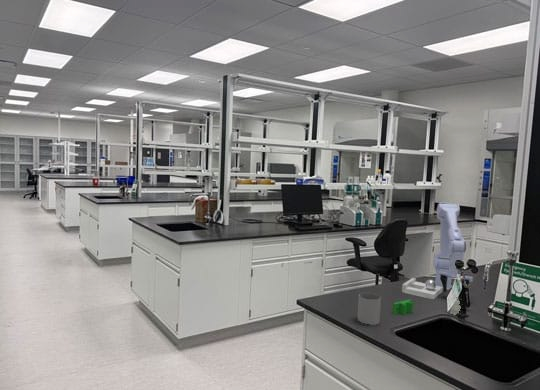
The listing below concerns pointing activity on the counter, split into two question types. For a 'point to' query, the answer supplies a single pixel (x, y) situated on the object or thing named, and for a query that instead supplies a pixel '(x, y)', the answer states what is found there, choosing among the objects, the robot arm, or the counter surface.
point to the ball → (430, 284)
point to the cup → (369, 308)
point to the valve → (456, 307)
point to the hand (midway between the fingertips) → (453, 293)
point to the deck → (420, 289)
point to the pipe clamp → (403, 307)
